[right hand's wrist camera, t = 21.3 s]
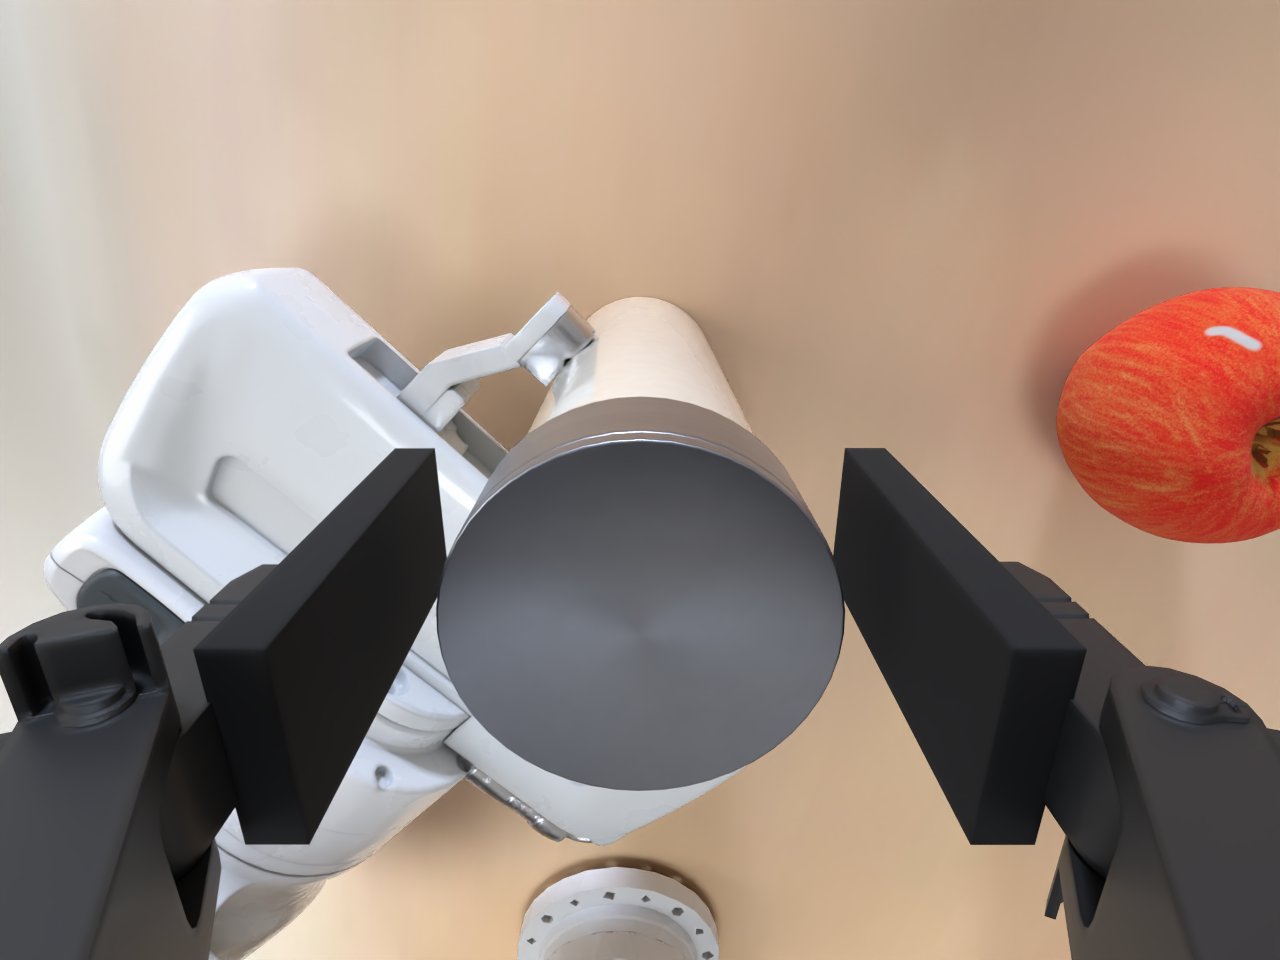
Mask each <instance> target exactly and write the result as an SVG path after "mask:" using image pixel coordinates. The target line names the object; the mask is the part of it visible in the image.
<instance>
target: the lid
mask: <svg viewBox="0 0 1280 960" xmlns="http://www.w3.org/2000/svg"><path fill="white" fill-rule="evenodd" d="M844 620H845V606H844V596H843V587H842V583H841V579H840V575H839V572H838V568H837V564H836V562H835V559H834V557H833V555H832V552H831V550H830V548H829V546H828V543H827V541H826V539H825V537H824V536H823V534H822V532H821V530H820V528H819V527H818V525H817V523H816V521H815V519H814V518H813V516H812V514H811V512H810V510H809V509H808V507H807V505H806V503H805V501H804V500H803V498H802V496H801V494H800V492H799V491H798V489H797V487H796V485H795V483H794V482H793V480H792V479H791V477H790V475H789V474H788V472H787V471H786V469H785V467H784V466H783V465H782V463H781V462H780V461H779V460H778V459H777V458H776V456H775V455H774V454H773V453H772V452H771V450H770V449H769V448H768V447H767V446H765V445H764V444H763V443H762V442H761V441H760V440H759V439H758V438H756V437H755V436H754V435H753V434H752V433H750V432H749V431H747V430H746V429H744V428H743V427H742V426H740V425H739V424H737V423H736V422H734V421H732V420H730V419H728V418H726V417H724V416H722V415H720V414H718V413H716V412H714V411H712V410H709V409H706V408H703V407H700V406H697V405H694V404H691V403H688V402H683V401H678V400H673V399H668V398H658V397H643V396H639V397H622V398H613V399H608V400H603V401H598V402H593V403H590V404H587V405H584V406H580V407H577V408H574V409H571V410H569V411H567V412H565V413H563V414H561V415H559V416H556V417H554V418H552V419H550V420H548V421H547V422H545V423H544V424H542V425H541V426H539V427H538V428H536V429H535V430H533V431H532V432H530V433H529V434H528V435H527V436H526V437H524V438H523V439H522V440H521V441H520V442H519V443H518V444H516V445H515V446H514V447H513V448H512V449H511V450H510V452H509V453H508V454H507V455H506V456H505V457H504V458H503V460H502V461H501V462H500V463H499V464H498V466H497V467H496V469H495V470H494V472H493V474H492V475H491V477H490V478H489V480H488V481H487V483H486V485H485V487H484V488H483V490H482V492H481V494H480V496H479V498H478V499H477V501H476V503H475V505H474V507H473V508H472V510H471V512H470V514H469V516H468V517H467V519H466V521H465V523H464V525H463V527H462V528H461V530H460V532H459V534H458V536H457V537H456V539H455V541H454V544H453V546H452V548H451V550H450V552H449V555H448V557H447V559H446V561H445V564H444V568H443V572H442V575H441V579H440V582H439V587H438V596H437V604H436V621H437V635H438V640H439V645H440V650H441V655H442V658H443V661H444V664H445V667H446V669H447V672H448V675H449V678H450V679H451V681H452V683H453V685H454V687H455V689H456V691H457V693H458V695H459V697H460V698H461V700H462V701H463V703H464V704H465V705H466V707H467V708H468V710H469V711H470V713H471V714H472V715H473V716H474V718H475V719H476V720H477V721H478V722H479V723H480V724H481V725H482V726H483V727H484V728H485V730H486V731H487V732H488V733H489V734H491V735H492V736H493V737H494V738H495V739H496V740H498V741H499V742H500V743H501V744H502V745H503V746H505V747H506V748H507V749H509V750H510V751H512V752H513V753H515V754H516V755H518V756H519V757H521V758H522V759H524V760H525V761H527V762H529V763H531V764H533V765H535V766H537V767H539V768H541V769H543V770H545V771H547V772H550V773H552V774H555V775H557V776H560V777H563V778H565V779H568V780H571V781H575V782H579V783H582V784H586V785H590V786H595V787H602V788H608V789H614V790H630V791H650V790H666V789H673V788H679V787H686V786H691V785H694V784H698V783H702V782H706V781H710V780H713V779H715V778H718V777H721V776H724V775H726V774H729V773H732V772H734V771H736V770H738V769H740V768H742V767H744V766H746V765H748V764H750V763H752V762H754V761H755V760H757V759H758V758H760V757H761V756H763V755H765V754H766V753H768V752H769V751H771V750H772V749H774V748H775V747H776V746H777V745H778V744H780V743H781V742H782V741H783V740H784V739H786V738H787V737H788V736H789V735H790V734H792V733H793V731H794V730H795V729H796V728H797V727H798V726H799V725H800V724H801V723H802V722H803V721H804V720H805V719H806V718H807V716H808V715H809V714H810V712H811V711H812V709H813V708H814V707H815V705H816V704H817V702H818V701H819V700H820V698H821V696H822V695H823V693H824V691H825V689H826V687H827V685H828V683H829V681H830V680H831V677H832V675H833V672H834V669H835V666H836V664H837V661H838V658H839V654H840V650H841V645H842V640H843V635H844Z"/></svg>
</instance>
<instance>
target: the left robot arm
mask: <svg viewBox="0 0 1280 960" xmlns="http://www.w3.org/2000/svg"><path fill="white" fill-rule="evenodd" d="M595 332H596V330H595V329H594V328H593V327H592V326H591V325H590V324H589V323H588V322H587V321H586V320H585V319H584V318H583V317H582V316H581V315H580V314H579V313H578V312H577V311H576V310H575V308H574V307H573V306H572V305H570V303H569V302H568V301H567V300H566V299H565V298H564V297H563V296H562V295H561V294H560V293H559V292H557V293H556V294H555V295H554V296H553V297H552V298H551V299H550V300H549V301H548V302H547V303H546V304H545V305H544V306H543V307H542V308H541V309H540V310H539V311H538V312H537V313H536V314H535V315H534V316H533V317H532V319H531V320H530V321H529V322H528V323H527V324H526V325H525V326H524V327H523V328H522V329H521V330H520V331H519V332H518V333H517V334H516V335H515V336H514V335H513V334H512V333H509V334H505V335H501V336H497V337H494V338H490V339H486V340H482V341H478V342H474V343H470V344H467V345H463V346H459V347H455V348H451V349H447V350H446V351H444V352H443V353H442V354H440V355H439V356H438V357H436V358H435V359H434V360H432V361H431V362H430V363H428V364H427V365H426V366H425V367H424V368H423V369H422V370H421V371H419V370H418V369H417V368H416V367H415V366H414V365H413V364H412V363H410V362H409V361H408V360H407V359H406V358H405V357H404V356H403V355H402V354H401V353H399V352H398V351H397V350H396V349H395V348H394V347H393V346H392V345H391V344H390V343H388V342H387V341H386V340H385V339H384V338H383V337H382V336H381V335H380V334H379V333H377V332H376V331H375V330H374V329H373V328H372V327H371V326H370V325H369V324H367V323H366V322H365V321H364V320H363V319H362V318H361V317H360V316H359V315H358V314H356V313H355V312H354V311H353V310H352V309H351V308H350V307H349V306H348V305H347V304H345V303H344V302H343V301H342V300H341V299H340V298H339V297H338V296H337V295H336V294H334V293H333V292H332V291H331V290H330V289H329V288H328V287H327V286H326V285H325V284H324V283H322V282H321V281H320V280H319V279H318V278H317V277H316V276H314V275H313V274H312V273H310V272H308V271H307V270H304V269H301V268H263V269H252V270H246V271H241V272H236V273H232V274H228V275H225V276H222V277H220V278H217V279H215V280H213V281H211V282H209V283H208V284H206V285H205V286H203V287H202V288H201V289H199V290H198V291H197V292H196V293H195V294H194V295H193V296H192V297H191V299H190V300H189V301H188V302H187V303H186V305H185V306H184V307H183V308H182V310H181V311H180V312H179V313H178V315H177V316H176V317H175V319H174V320H173V321H172V323H171V324H170V326H169V327H168V328H167V330H166V331H165V333H164V334H163V336H162V337H161V339H160V340H159V341H158V343H157V344H156V346H155V347H154V349H153V350H152V352H151V354H150V355H149V357H148V358H147V360H146V362H145V363H144V365H143V366H142V368H141V370H140V371H139V373H138V375H137V376H136V378H135V380H134V382H133V383H132V385H131V387H130V388H129V390H128V392H127V394H126V396H125V397H124V399H123V401H122V403H121V405H120V407H119V409H118V411H117V413H116V415H115V417H114V419H113V421H112V423H111V425H110V427H109V429H108V431H107V433H106V436H105V438H104V441H103V444H102V447H101V451H100V455H99V461H98V485H99V491H100V494H101V497H102V501H103V503H104V505H105V506H104V507H103V508H101V509H100V510H99V511H97V512H96V513H94V514H93V515H91V516H90V517H89V518H88V519H86V520H85V521H84V522H83V523H82V524H80V525H79V526H78V527H77V528H75V529H74V530H73V531H72V532H70V533H69V534H68V535H67V536H66V537H65V538H64V539H62V540H61V541H60V542H59V543H58V544H57V545H56V546H55V548H54V549H53V550H52V551H51V552H50V554H49V555H48V557H47V559H46V561H45V564H44V569H43V570H44V577H45V580H46V582H47V585H48V586H49V588H50V590H51V591H52V593H53V594H54V595H55V597H56V598H57V599H58V600H59V601H60V603H61V604H62V605H63V606H64V607H65V608H66V609H67V611H71V610H75V609H79V608H83V607H87V606H91V605H101V604H112V603H123V604H132V605H139V606H141V607H142V608H144V609H146V610H147V611H149V612H150V614H151V618H152V621H153V624H154V628H155V631H156V635H157V638H158V642H159V645H160V646H161V645H162V644H163V643H164V642H165V641H166V640H167V639H168V638H169V637H170V636H171V635H173V634H174V633H175V632H176V631H177V630H178V629H179V628H180V627H181V626H182V625H183V624H185V623H186V622H187V621H191V620H192V616H193V615H194V614H195V613H197V612H198V611H199V610H200V609H201V608H202V607H203V606H204V605H205V604H209V603H210V600H211V599H212V598H213V597H214V596H215V595H216V594H217V593H218V592H219V591H220V590H222V589H223V588H224V587H225V586H226V585H227V584H228V583H229V582H230V581H232V580H234V579H235V578H237V577H239V576H241V575H243V574H245V573H247V572H249V571H251V570H253V569H254V568H256V567H258V566H260V565H262V564H279V563H280V562H281V561H282V560H283V559H284V558H285V557H286V556H287V555H288V554H289V553H290V552H291V551H292V550H293V549H294V548H295V547H296V546H297V545H298V544H299V543H300V542H301V541H302V540H303V539H304V538H305V537H306V536H307V535H308V534H309V533H310V532H311V531H312V530H313V529H314V528H315V527H316V526H317V525H318V524H319V523H320V522H321V521H322V520H323V519H324V518H325V517H326V516H327V515H328V514H329V513H330V512H331V511H332V510H333V509H334V508H335V507H336V506H337V505H338V504H340V503H341V502H342V501H343V500H344V499H345V498H346V497H347V496H348V495H349V494H350V493H351V492H352V491H353V490H354V489H355V488H356V487H357V486H358V485H359V484H360V483H361V482H362V481H363V480H364V479H365V478H366V477H367V476H368V475H369V474H370V473H371V472H372V471H373V470H374V469H375V468H376V467H377V466H378V465H379V464H380V463H381V462H382V461H383V460H384V459H385V458H386V457H387V456H388V455H389V454H390V453H391V452H392V451H393V450H394V449H395V448H435V454H436V463H437V472H438V481H439V490H440V499H441V508H442V518H443V527H444V536H445V545H446V554H447V557H448V555H449V552H450V550H451V548H452V546H453V544H454V541H455V539H456V537H457V536H458V534H459V532H460V530H461V528H462V527H463V525H464V523H465V521H466V519H467V517H468V516H469V514H470V512H471V510H472V508H473V507H474V505H475V503H476V501H477V499H478V498H479V496H480V494H481V492H482V490H483V488H484V487H485V485H486V483H487V481H488V480H489V478H490V477H491V475H492V474H493V472H494V470H495V469H496V467H497V466H498V464H499V463H500V462H501V461H502V460H503V458H504V457H505V456H506V455H507V454H508V453H509V451H508V450H506V449H505V448H504V447H503V446H502V445H501V444H500V443H499V442H498V441H497V440H495V439H494V438H493V437H492V436H491V435H490V434H489V433H488V432H487V431H486V430H484V429H483V428H482V427H481V426H480V425H479V424H478V423H477V422H476V421H474V420H473V419H472V418H471V417H470V416H469V415H468V414H467V413H466V412H465V411H463V410H462V409H461V408H462V407H463V406H464V405H465V404H466V403H467V402H468V400H469V399H470V398H471V397H472V396H473V395H474V394H475V392H476V391H477V390H478V389H479V388H480V381H479V380H478V378H481V377H485V376H488V375H492V374H496V373H499V372H503V371H506V370H510V369H514V368H517V367H521V366H522V365H523V366H524V367H525V368H526V369H527V370H528V371H529V372H530V373H531V374H532V375H534V376H535V377H536V378H537V379H538V380H539V381H540V382H541V383H542V384H543V385H544V386H547V385H548V384H549V383H550V382H551V381H552V380H553V379H554V378H555V377H556V376H557V375H558V374H559V372H560V371H561V370H562V369H563V367H564V365H565V363H566V360H567V359H568V358H573V357H574V356H576V355H577V354H578V353H579V352H581V351H582V350H583V349H584V348H585V347H586V346H587V345H588V343H589V342H590V341H591V340H592V338H593V337H594V333H595ZM436 604H437V599H436V601H435V603H434V604H433V606H432V608H431V610H430V612H429V614H428V616H427V618H426V620H425V622H424V624H423V626H422V628H421V630H420V632H419V634H418V635H417V637H416V639H415V641H414V643H413V645H412V647H411V649H410V651H409V653H408V655H407V657H406V659H405V661H404V663H403V664H402V666H401V668H400V670H399V672H398V674H397V676H396V678H395V680H394V682H393V684H392V686H391V688H390V690H389V692H388V694H387V695H386V697H385V699H384V701H383V703H382V705H381V707H380V709H379V711H378V713H377V715H376V717H375V719H374V721H373V723H372V724H371V726H370V728H369V730H368V732H367V734H366V736H365V738H364V740H363V742H362V744H361V746H360V748H359V750H358V752H357V754H356V755H355V757H354V759H353V761H352V763H351V765H350V767H349V769H348V771H347V773H346V775H345V777H344V779H343V781H342V783H341V785H340V786H339V788H338V790H337V792H336V794H335V796H334V798H333V800H332V802H331V804H330V806H329V808H328V810H327V812H326V814H325V815H324V817H323V819H322V821H321V823H320V825H319V827H318V829H317V831H316V833H315V835H314V837H313V839H312V841H311V843H310V845H245V842H244V838H243V834H242V831H241V827H240V823H239V819H238V816H237V812H236V808H234V810H233V811H232V813H231V814H230V816H229V817H228V819H227V820H226V822H225V823H224V825H223V826H222V828H221V829H220V831H219V832H218V834H217V835H216V837H215V840H216V843H217V847H218V850H219V854H220V861H221V868H222V869H221V876H220V883H219V890H218V897H217V904H216V911H215V918H214V925H213V932H212V939H211V946H210V953H209V960H244V959H245V958H246V957H248V956H249V955H250V954H252V953H253V952H254V951H256V950H257V949H258V948H260V947H261V946H262V945H263V944H265V943H266V942H267V941H269V940H270V939H271V938H273V937H274V936H275V935H276V934H277V933H279V932H280V931H281V930H282V929H283V928H285V927H286V926H287V925H289V924H290V923H291V922H292V921H293V920H294V919H295V918H297V917H298V916H299V914H300V913H301V912H302V911H303V910H304V909H305V908H306V907H307V906H308V905H309V904H310V903H311V902H312V901H313V900H314V898H315V897H316V896H317V894H318V893H319V892H320V890H321V889H322V887H323V885H324V884H325V882H326V881H327V880H328V879H331V878H333V877H336V876H338V875H340V874H342V873H344V872H347V871H348V870H350V869H352V868H354V867H355V866H357V865H358V864H360V863H361V862H363V861H364V860H366V859H367V858H368V857H370V856H371V855H372V854H373V853H375V852H376V851H377V850H378V849H379V848H381V847H382V846H383V845H384V844H385V843H387V842H388V841H389V840H390V839H391V838H393V837H394V836H395V835H396V834H397V833H399V832H400V831H401V830H402V829H403V828H405V827H406V826H407V825H408V824H409V823H411V822H412V821H413V820H414V819H415V818H416V817H418V816H419V815H420V814H421V813H422V812H423V811H424V810H426V809H427V808H428V807H429V806H431V805H432V804H433V803H434V802H435V801H437V800H438V799H439V798H440V797H441V796H443V795H444V794H445V793H446V792H447V791H449V790H450V789H451V788H452V787H453V786H455V785H456V784H457V783H458V782H459V781H461V780H462V779H463V778H465V779H466V780H467V781H468V782H470V783H471V784H473V785H474V786H475V787H477V788H478V789H479V790H481V791H482V792H483V793H485V794H486V795H488V796H489V797H490V798H492V799H493V800H495V801H497V802H498V803H500V804H502V805H504V806H506V807H508V808H509V809H511V810H513V811H515V812H516V813H517V814H520V816H521V817H523V818H524V819H526V820H527V823H528V824H529V825H530V826H531V827H532V828H533V829H534V830H535V831H537V832H538V833H540V834H541V835H543V836H544V837H546V838H548V839H550V840H553V841H556V842H560V841H562V840H563V839H564V838H565V837H567V838H569V839H571V840H575V841H579V842H586V843H595V844H596V845H599V846H604V845H608V844H611V843H614V842H615V841H617V840H619V839H621V838H622V837H623V836H625V835H626V834H627V833H629V832H631V831H634V830H636V829H638V828H641V827H643V826H645V825H647V824H649V823H651V822H653V821H655V820H657V819H659V818H661V817H663V816H665V815H667V814H669V813H671V812H673V811H674V810H676V809H678V808H680V807H682V806H684V805H686V804H687V803H689V802H691V801H693V800H695V799H696V798H698V797H700V796H701V795H703V794H705V793H707V792H708V791H710V790H711V789H713V788H715V787H716V786H718V785H720V784H721V783H723V782H725V781H726V780H728V779H729V778H731V777H732V776H734V775H735V774H737V773H738V772H739V771H741V770H742V769H743V768H745V767H746V766H747V765H746V766H744V767H742V768H740V769H738V770H736V771H734V772H732V773H729V774H726V775H724V776H721V777H718V778H715V779H713V780H710V781H706V782H702V783H698V784H694V785H691V786H686V787H679V788H673V789H666V790H650V791H630V790H614V789H608V788H602V787H595V786H590V785H586V784H582V783H579V782H575V781H571V780H568V779H565V778H563V777H560V776H557V775H555V774H552V773H550V772H547V771H545V770H543V769H541V768H539V767H537V766H535V765H533V764H531V763H529V762H527V761H525V760H524V759H522V758H521V757H519V756H518V755H516V754H515V753H513V752H512V751H510V750H509V749H507V748H506V747H505V746H503V745H502V744H501V743H500V742H499V741H498V740H496V739H495V738H494V737H493V736H492V735H491V734H489V733H488V732H487V731H486V730H485V728H484V727H483V726H482V725H481V724H480V723H479V722H478V721H477V720H476V719H475V718H474V716H473V715H472V714H471V713H470V711H469V710H468V708H467V707H466V705H465V704H464V703H463V701H462V700H461V698H460V697H459V695H458V693H457V691H456V689H455V687H454V685H453V683H452V681H451V679H450V678H449V675H448V672H447V669H446V667H445V664H444V661H443V658H442V655H441V650H440V645H439V640H438V635H437V621H436Z"/></svg>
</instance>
